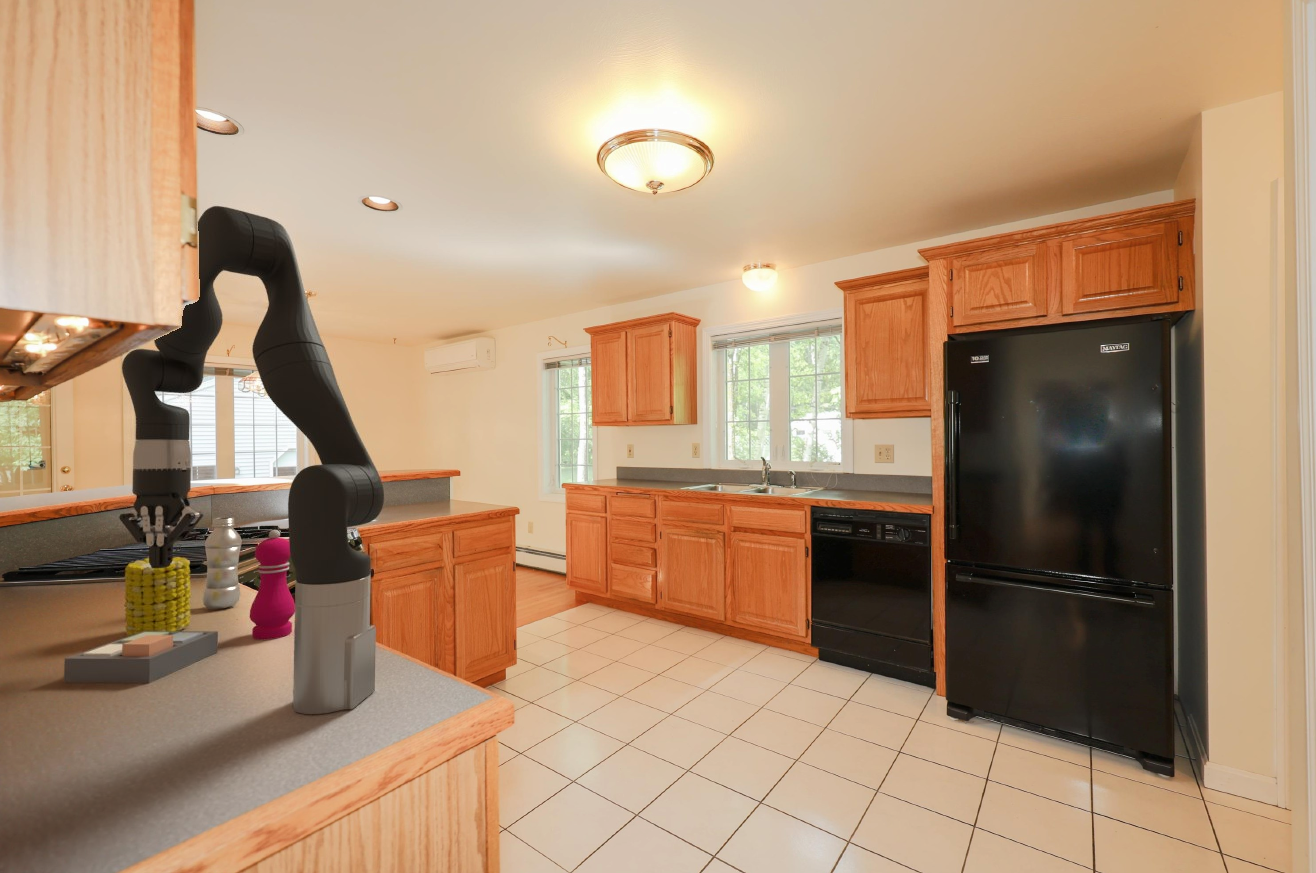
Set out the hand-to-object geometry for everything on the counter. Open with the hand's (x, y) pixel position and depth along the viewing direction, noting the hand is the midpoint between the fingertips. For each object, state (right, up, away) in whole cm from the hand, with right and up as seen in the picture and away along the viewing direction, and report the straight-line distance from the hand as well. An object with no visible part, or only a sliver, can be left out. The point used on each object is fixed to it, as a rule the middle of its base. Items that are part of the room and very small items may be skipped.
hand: (160, 567), depth 96 cm
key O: (+5, -15, -2) cm, 15 cm away
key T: (+5, -13, -8) cm, 16 cm away
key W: (-1, -15, -2) cm, 15 cm away
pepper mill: (+12, -16, +11) cm, 22 cm away
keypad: (+2, -15, -5) cm, 16 cm away
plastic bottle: (-12, -16, +29) cm, 35 cm away
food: (-11, -16, +12) cm, 23 cm away
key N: (-1, -14, -8) cm, 16 cm away
